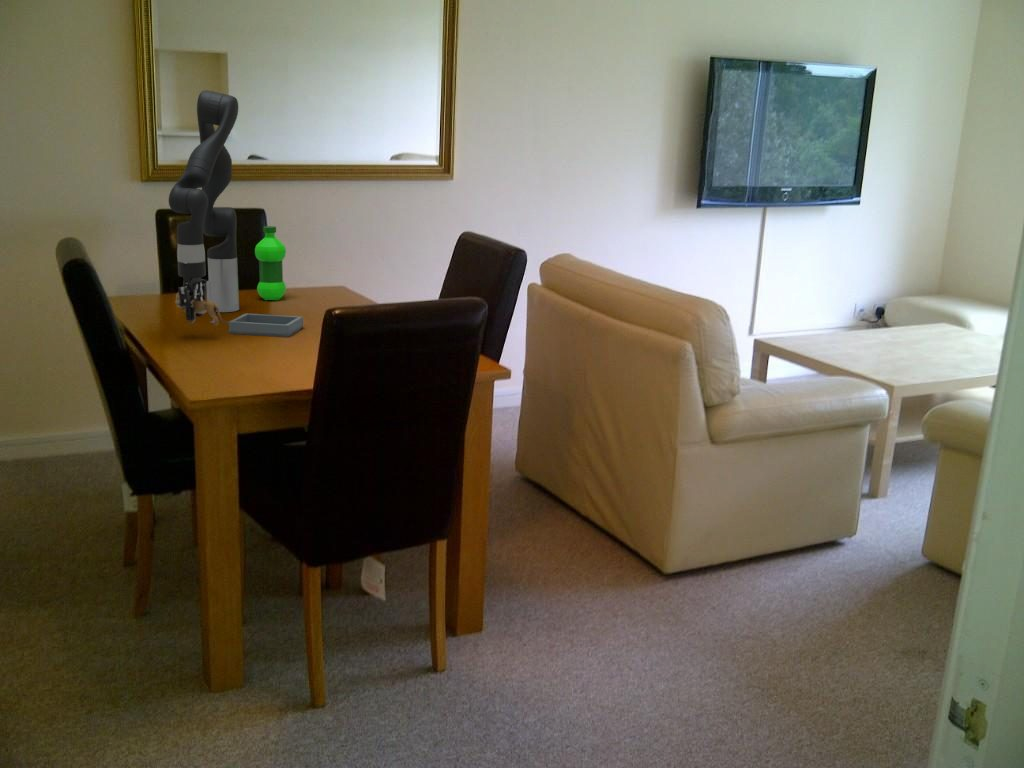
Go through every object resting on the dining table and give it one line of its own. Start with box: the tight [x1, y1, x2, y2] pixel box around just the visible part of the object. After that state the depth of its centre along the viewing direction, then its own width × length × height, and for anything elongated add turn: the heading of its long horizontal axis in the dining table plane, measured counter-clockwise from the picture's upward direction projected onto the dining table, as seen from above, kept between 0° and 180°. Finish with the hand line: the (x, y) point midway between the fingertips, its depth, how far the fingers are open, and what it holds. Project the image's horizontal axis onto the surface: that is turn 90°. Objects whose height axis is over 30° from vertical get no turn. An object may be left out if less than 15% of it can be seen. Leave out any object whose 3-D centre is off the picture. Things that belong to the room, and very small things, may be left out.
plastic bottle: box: [254, 225, 287, 301], centre depth 356 cm, size 10×10×25 cm
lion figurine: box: [174, 292, 228, 326], centre depth 298 cm, size 15×5×9 cm, turn 87°
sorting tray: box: [228, 312, 304, 338], centre depth 311 cm, size 18×13×4 cm
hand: (194, 317), depth 299 cm, fingers closed on lion figurine, 4 cm apart
